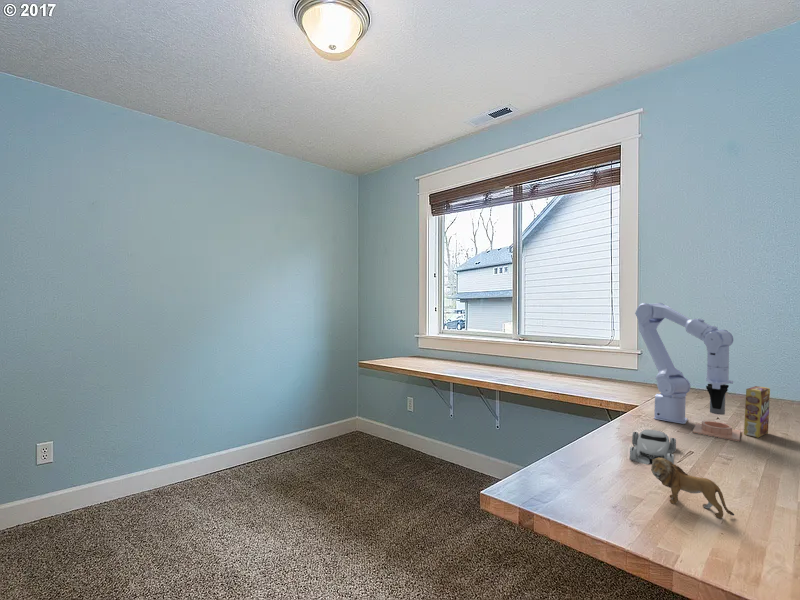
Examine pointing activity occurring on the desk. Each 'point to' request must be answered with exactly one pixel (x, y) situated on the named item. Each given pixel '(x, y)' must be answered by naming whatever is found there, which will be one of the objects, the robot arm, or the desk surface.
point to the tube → (718, 411)
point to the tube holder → (717, 430)
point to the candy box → (757, 411)
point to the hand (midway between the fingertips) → (717, 407)
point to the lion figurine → (687, 484)
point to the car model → (652, 446)
